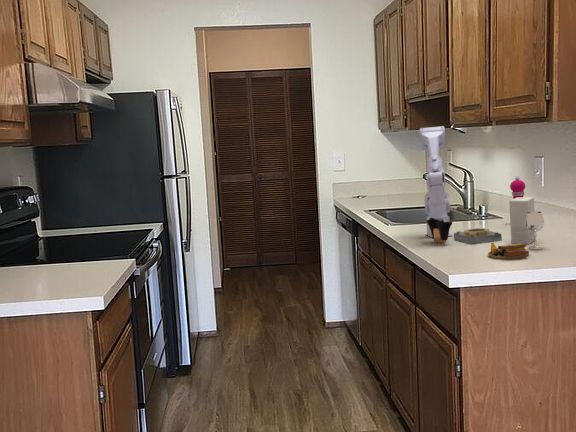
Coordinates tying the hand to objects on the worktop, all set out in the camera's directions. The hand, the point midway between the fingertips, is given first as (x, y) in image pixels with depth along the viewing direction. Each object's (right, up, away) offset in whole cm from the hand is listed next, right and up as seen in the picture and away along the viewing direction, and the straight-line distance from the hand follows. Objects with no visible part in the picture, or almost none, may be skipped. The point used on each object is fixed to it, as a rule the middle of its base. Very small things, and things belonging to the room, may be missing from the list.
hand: (440, 239), depth 226 cm
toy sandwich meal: (+14, -5, -35) cm, 38 cm away
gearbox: (+13, 0, 0) cm, 13 cm away
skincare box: (+26, -1, -15) cm, 30 cm away
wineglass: (+25, -2, -27) cm, 37 cm away
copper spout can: (0, -1, 0) cm, 1 cm away
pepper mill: (+41, +5, +27) cm, 49 cm away
